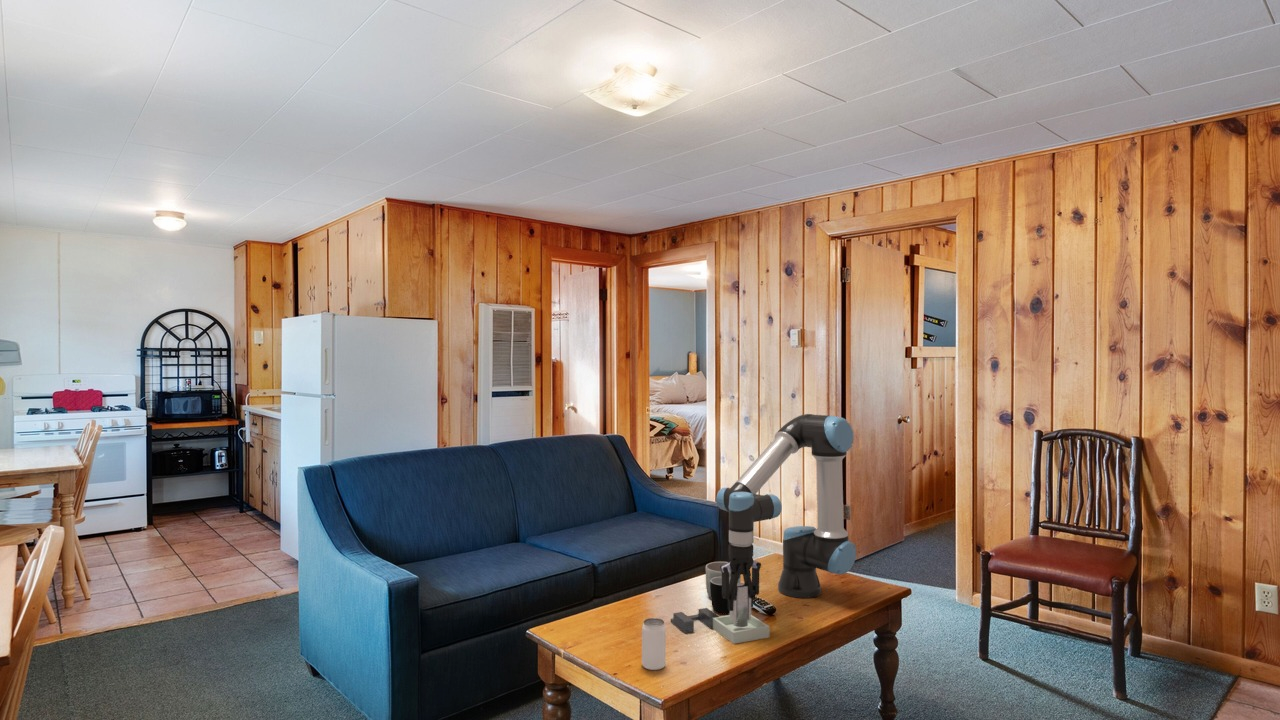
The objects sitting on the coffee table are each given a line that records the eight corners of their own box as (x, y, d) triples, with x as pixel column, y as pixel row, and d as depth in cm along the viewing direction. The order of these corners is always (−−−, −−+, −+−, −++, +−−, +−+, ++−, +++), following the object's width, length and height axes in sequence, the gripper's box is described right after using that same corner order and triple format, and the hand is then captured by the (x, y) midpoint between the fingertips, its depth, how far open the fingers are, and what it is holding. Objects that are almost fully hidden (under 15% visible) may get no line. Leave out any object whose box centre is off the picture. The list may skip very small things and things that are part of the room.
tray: (746, 622, 219) (746, 612, 219) (769, 637, 207) (769, 626, 207) (712, 628, 214) (712, 617, 214) (733, 643, 202) (733, 632, 202)
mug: (721, 618, 222) (722, 586, 222) (704, 609, 230) (704, 579, 230) (749, 610, 229) (749, 580, 229) (731, 602, 236) (731, 573, 236)
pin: (750, 625, 209) (751, 586, 209) (737, 628, 207) (738, 588, 207) (742, 620, 213) (742, 582, 213) (729, 622, 212) (730, 583, 212)
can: (651, 673, 183) (651, 628, 183) (637, 664, 188) (637, 620, 188) (670, 666, 187) (670, 622, 187) (655, 658, 192) (656, 615, 192)
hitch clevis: (703, 616, 223) (703, 605, 223) (719, 627, 214) (719, 616, 214) (670, 622, 219) (670, 611, 219) (685, 633, 210) (685, 622, 209)
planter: (740, 605, 234) (740, 573, 234) (703, 602, 236) (704, 570, 236) (741, 592, 246) (741, 562, 246) (706, 590, 249) (707, 560, 249)
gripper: (758, 537, 217) (757, 611, 217) (709, 543, 210) (709, 619, 210) (772, 543, 211) (771, 619, 211) (722, 549, 203) (721, 628, 203)
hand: (740, 619), depth 210 cm, fingers closed on pin, 5 cm apart
